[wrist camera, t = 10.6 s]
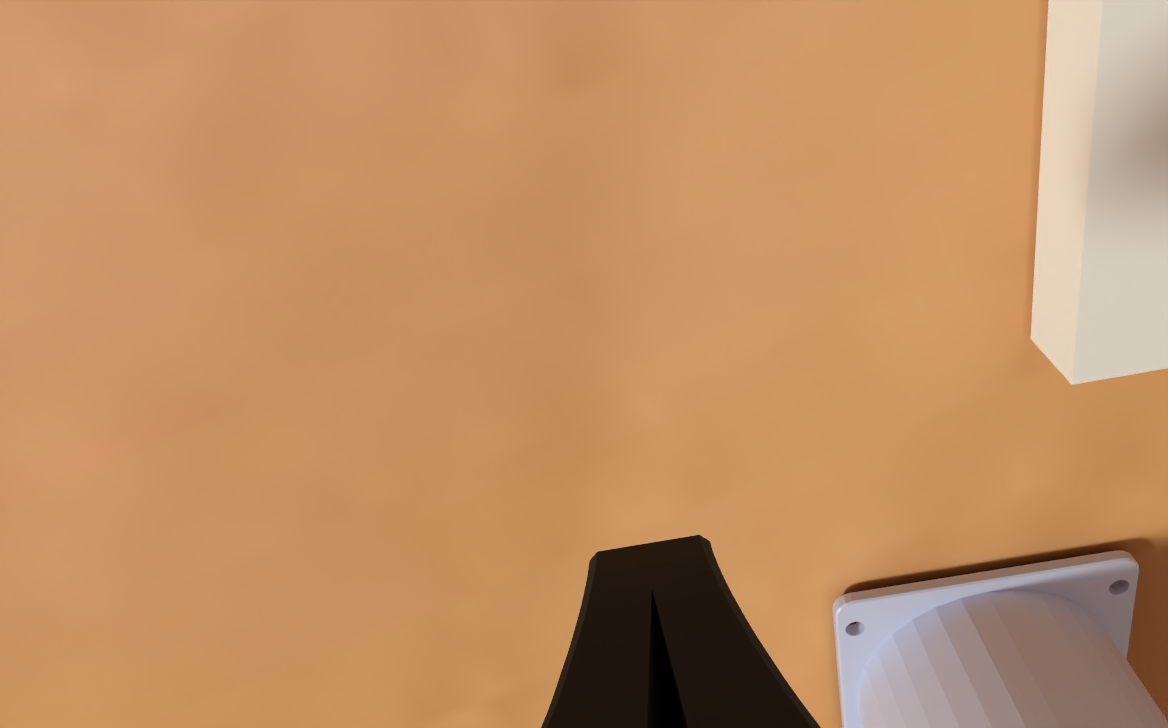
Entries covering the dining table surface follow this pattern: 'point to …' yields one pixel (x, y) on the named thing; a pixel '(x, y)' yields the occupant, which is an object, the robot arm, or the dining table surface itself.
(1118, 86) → the white board
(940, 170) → the dining table surface
